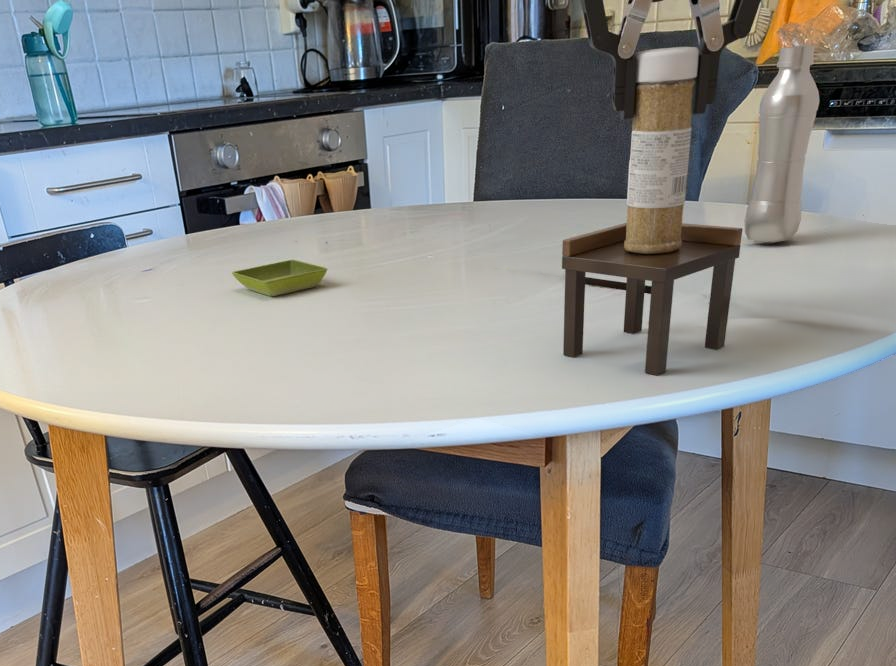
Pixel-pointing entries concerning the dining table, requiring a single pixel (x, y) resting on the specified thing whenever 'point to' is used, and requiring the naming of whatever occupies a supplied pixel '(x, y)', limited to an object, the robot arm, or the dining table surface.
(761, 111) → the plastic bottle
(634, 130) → the sprinkles bottle
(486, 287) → the dining table surface
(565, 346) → the small brown wooden table
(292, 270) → the green square tray
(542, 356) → the dining table surface
